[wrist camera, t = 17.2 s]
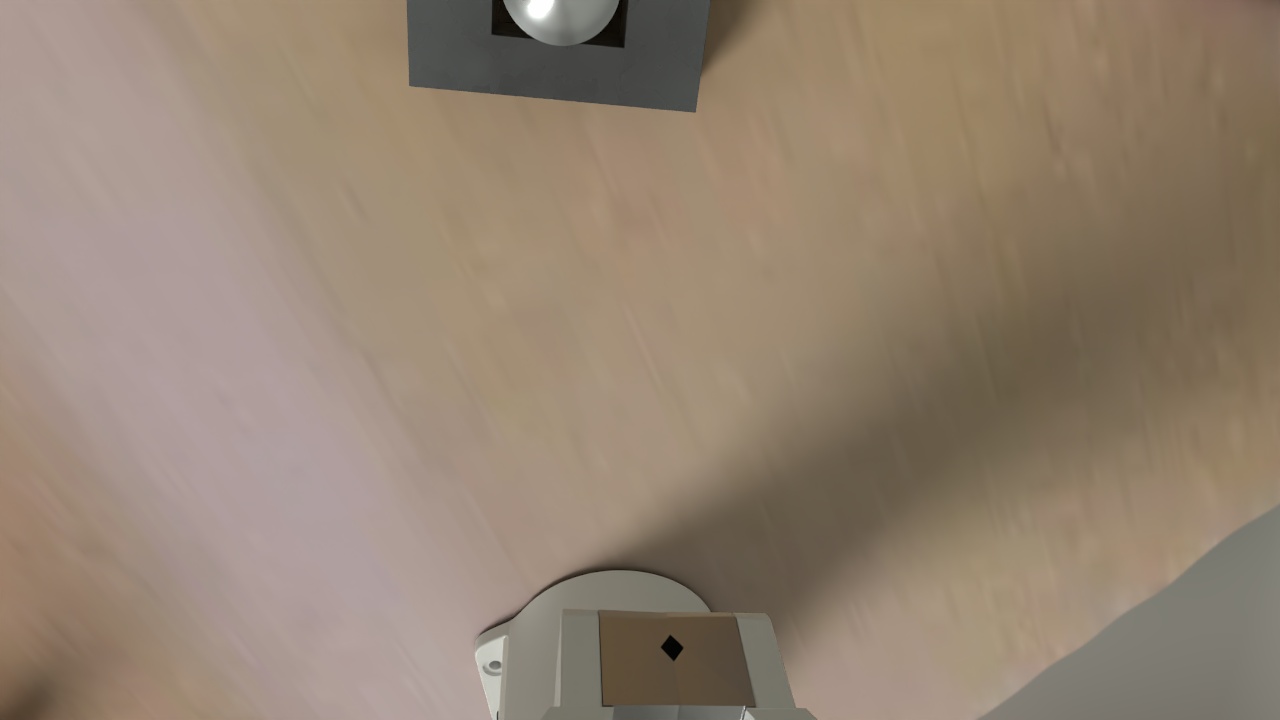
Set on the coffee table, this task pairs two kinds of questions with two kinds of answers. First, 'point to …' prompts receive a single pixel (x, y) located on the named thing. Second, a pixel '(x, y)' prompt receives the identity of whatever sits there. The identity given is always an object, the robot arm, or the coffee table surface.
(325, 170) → the coffee table surface
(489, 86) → the jig
